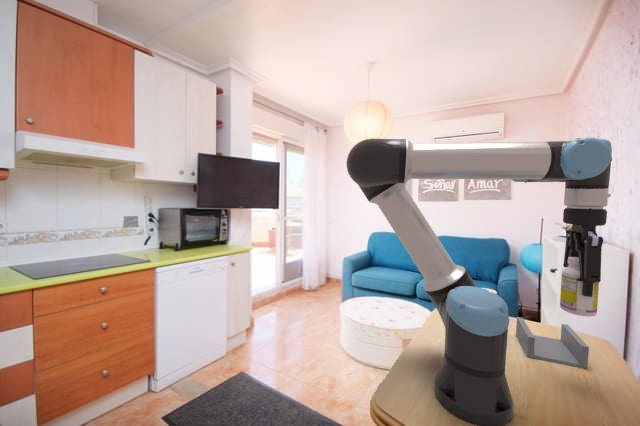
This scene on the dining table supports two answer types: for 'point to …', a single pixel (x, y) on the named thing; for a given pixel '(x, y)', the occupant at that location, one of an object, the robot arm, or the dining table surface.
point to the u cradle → (553, 346)
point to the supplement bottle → (574, 289)
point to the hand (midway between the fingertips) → (577, 303)
